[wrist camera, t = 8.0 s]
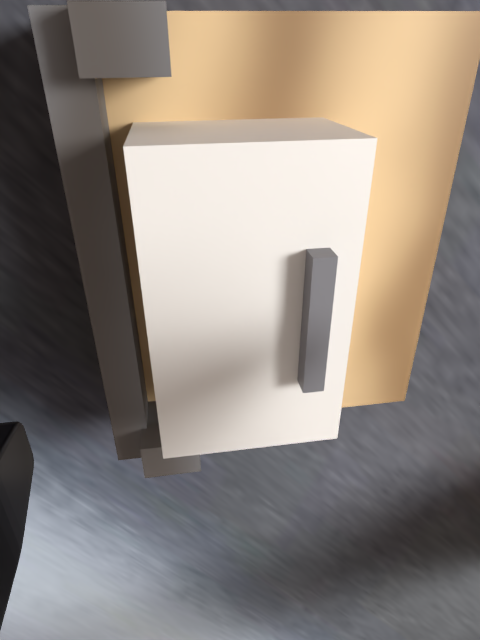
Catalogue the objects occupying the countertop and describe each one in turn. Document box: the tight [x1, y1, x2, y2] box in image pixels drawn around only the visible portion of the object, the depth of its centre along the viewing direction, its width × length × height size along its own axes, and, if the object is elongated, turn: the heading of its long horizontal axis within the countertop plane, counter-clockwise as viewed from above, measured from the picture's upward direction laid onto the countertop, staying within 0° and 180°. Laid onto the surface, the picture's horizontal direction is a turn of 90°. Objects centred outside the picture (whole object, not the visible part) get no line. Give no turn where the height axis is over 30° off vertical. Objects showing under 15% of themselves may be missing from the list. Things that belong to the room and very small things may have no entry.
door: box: [123, 117, 377, 459], centre depth 13 cm, size 6×9×5 cm, turn 0°
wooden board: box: [27, 1, 480, 478], centre depth 15 cm, size 12×14×4 cm
